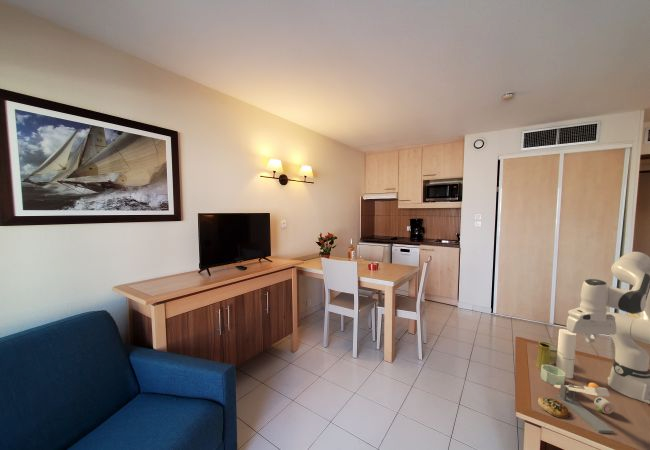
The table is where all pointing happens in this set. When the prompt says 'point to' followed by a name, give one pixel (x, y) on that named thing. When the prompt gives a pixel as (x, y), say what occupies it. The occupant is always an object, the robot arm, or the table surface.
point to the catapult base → (581, 410)
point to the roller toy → (604, 405)
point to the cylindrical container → (566, 352)
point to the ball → (593, 385)
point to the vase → (543, 355)
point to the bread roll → (553, 407)
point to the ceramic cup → (552, 352)
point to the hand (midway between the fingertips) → (590, 341)
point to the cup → (552, 375)
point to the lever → (588, 390)
